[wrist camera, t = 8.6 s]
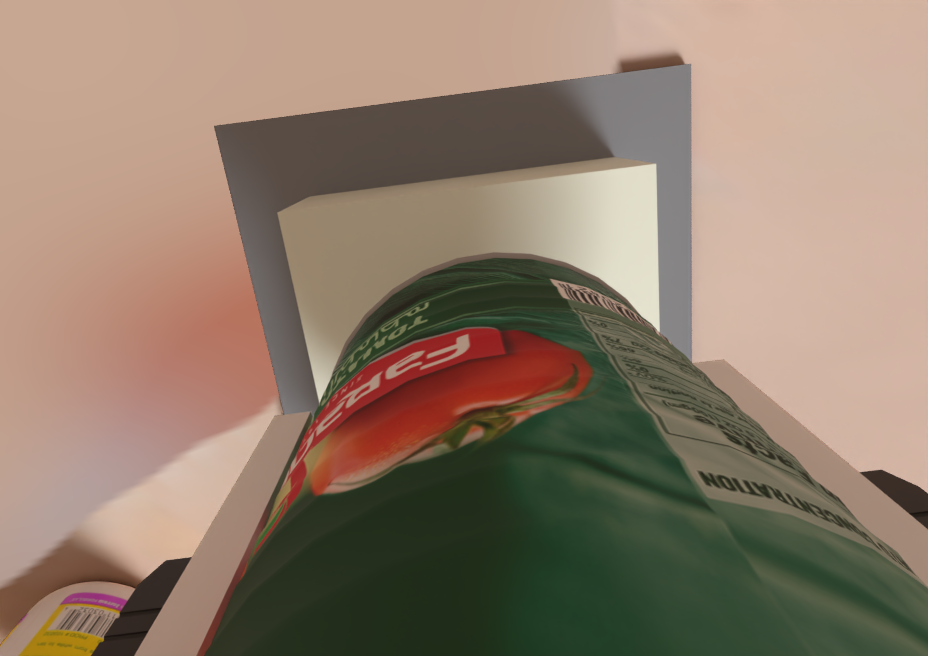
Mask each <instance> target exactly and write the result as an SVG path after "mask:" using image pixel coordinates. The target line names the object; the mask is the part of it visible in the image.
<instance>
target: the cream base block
mask: <svg viewBox="0 0 928 656" xmlns="http://www.w3.org/2000/svg"><path fill="white" fill-rule="evenodd" d="M277 214H278V218H279V223H280V227H281V232H282V236H283V241H284V245H285V250H286V254H287V259H288V263H289V268H290V272H291V277H292V282H293V286H294V291H295V295H296V300H297V304H298V309H299V313H300V318H301V322H302V327H303V331H304V336H305V340H306V345H307V350H308V354H309V359H310V363H311V368H312V372H313V377H314V381H315V386H316V390H317V395H318V399H319V403H320V401H321V398H322V396H323V394H324V391H325V390H326V388H327V385H328V383H329V381H330V379H331V376H332V372H333V370H334V367H335V365H336V363H337V360H338V358H339V356H340V354H341V351H342V349H343V347H344V344H345V342H346V340H347V339H348V338H349V336H350V335H351V333H352V332H353V331H354V329H355V328H356V326H357V325H358V324H359V322H360V321H361V319H362V318H363V317H364V315H365V314H366V313H367V312H368V311H369V310H370V309H371V308H372V307H373V306H374V305H376V304H377V303H378V302H379V301H380V300H381V299H382V298H383V297H384V296H385V295H386V294H387V293H389V292H390V291H391V290H392V289H393V288H395V287H397V286H398V285H400V284H402V283H403V282H405V281H406V280H408V279H410V278H411V277H413V276H415V275H416V274H418V273H420V272H421V271H423V270H426V269H428V268H431V267H434V266H437V265H439V264H442V263H445V262H448V261H450V260H453V259H456V258H461V257H467V256H473V255H480V254H486V253H492V252H499V253H525V254H534V255H538V256H542V257H546V258H550V259H554V260H559V261H563V262H566V263H568V264H571V265H573V266H575V267H577V268H579V269H581V270H583V271H586V272H588V273H590V274H592V275H594V276H596V277H598V278H600V279H601V280H603V281H604V282H605V283H607V284H608V285H609V286H611V287H612V288H613V289H614V290H616V291H617V292H618V293H620V294H621V295H622V296H624V297H625V298H626V299H627V300H628V301H629V302H630V303H631V305H632V306H633V307H634V308H635V309H636V310H637V312H638V313H639V314H640V315H641V316H642V317H643V318H644V319H646V320H647V321H648V322H650V323H651V324H652V325H653V326H654V327H655V328H656V329H657V331H658V332H659V333H660V322H659V273H658V224H657V175H656V164H655V163H649V162H643V161H637V160H630V159H624V158H618V157H610V158H603V159H595V160H587V161H580V162H572V163H564V164H556V165H549V166H541V167H533V168H526V169H518V170H510V171H502V172H495V173H487V174H479V175H472V176H464V177H456V178H448V179H441V180H433V181H425V182H418V183H410V184H402V185H394V186H387V187H379V188H371V189H364V190H356V191H348V192H340V193H333V194H325V195H317V196H310V197H308V198H306V199H304V200H302V201H300V202H298V203H296V204H294V205H292V206H290V207H288V208H286V209H284V210H282V211H280V212H278V213H277Z"/></svg>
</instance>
